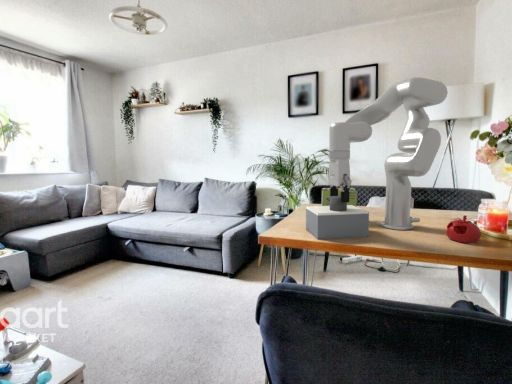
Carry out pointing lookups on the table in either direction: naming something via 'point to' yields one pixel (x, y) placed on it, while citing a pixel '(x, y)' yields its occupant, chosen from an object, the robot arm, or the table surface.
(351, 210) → the box lid
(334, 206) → the tape roll
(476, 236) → the pomegranate
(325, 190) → the protein box
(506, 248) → the table surface
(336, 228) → the storage box
